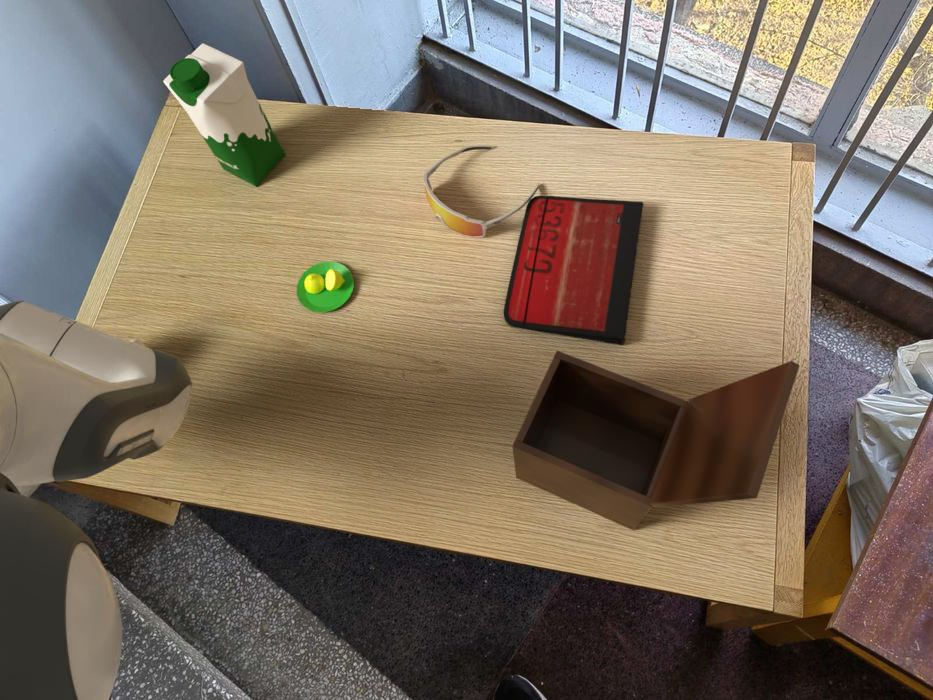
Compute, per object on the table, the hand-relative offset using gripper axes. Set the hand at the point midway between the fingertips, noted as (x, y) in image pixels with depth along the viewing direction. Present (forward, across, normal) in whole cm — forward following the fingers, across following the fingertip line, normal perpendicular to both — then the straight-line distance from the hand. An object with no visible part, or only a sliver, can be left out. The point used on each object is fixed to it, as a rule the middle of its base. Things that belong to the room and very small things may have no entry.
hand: (78, 371), depth 81 cm
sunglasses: (+13, -55, +2) cm, 57 cm away
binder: (+1, -62, +14) cm, 63 cm away
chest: (-17, -51, +31) cm, 62 cm away
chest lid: (-37, -58, +21) cm, 71 cm away
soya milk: (+29, -27, -14) cm, 42 cm away
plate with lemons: (+10, -30, +5) cm, 32 cm away
